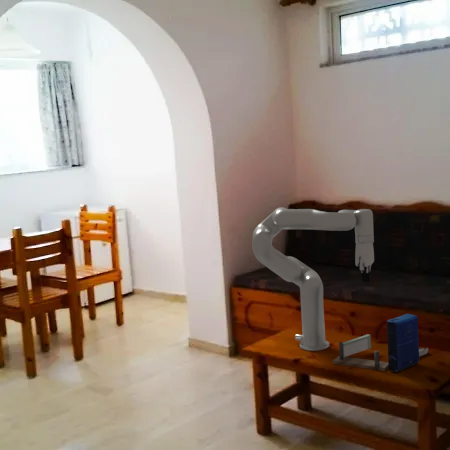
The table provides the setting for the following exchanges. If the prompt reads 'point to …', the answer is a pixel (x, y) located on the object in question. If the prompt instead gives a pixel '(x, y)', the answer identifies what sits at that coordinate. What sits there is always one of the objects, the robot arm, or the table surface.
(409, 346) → the book
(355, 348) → the panel
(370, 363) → the gate frame
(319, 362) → the table surface
